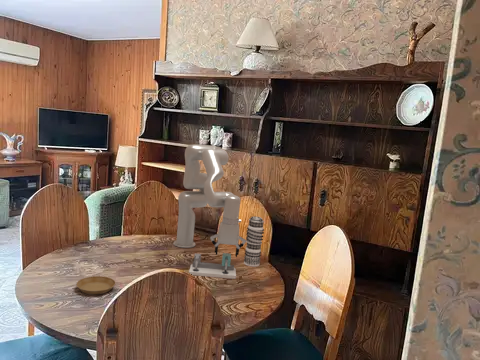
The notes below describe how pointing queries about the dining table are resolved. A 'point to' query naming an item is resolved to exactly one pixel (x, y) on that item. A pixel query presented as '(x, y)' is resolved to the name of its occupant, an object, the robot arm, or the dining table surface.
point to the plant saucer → (95, 285)
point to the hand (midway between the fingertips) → (226, 255)
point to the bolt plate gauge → (211, 269)
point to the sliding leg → (226, 260)
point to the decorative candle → (254, 241)
